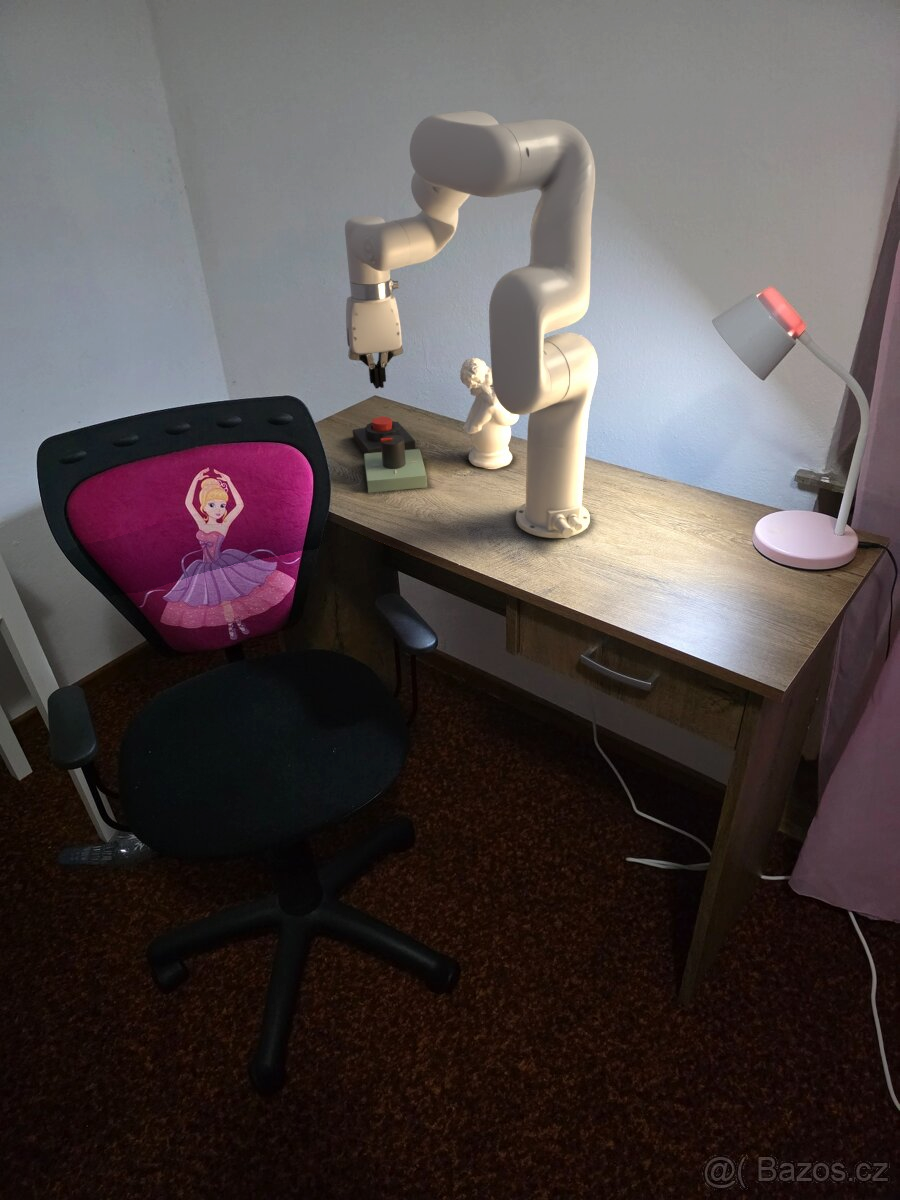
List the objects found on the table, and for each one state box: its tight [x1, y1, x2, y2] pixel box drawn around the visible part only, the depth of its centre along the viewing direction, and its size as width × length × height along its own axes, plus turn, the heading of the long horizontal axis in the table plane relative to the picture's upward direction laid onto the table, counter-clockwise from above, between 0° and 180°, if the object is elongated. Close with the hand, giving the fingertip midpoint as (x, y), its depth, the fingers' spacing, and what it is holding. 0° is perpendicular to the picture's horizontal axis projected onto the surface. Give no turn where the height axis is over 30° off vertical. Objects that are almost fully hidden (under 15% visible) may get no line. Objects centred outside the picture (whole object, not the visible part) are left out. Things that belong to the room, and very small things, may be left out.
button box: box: [352, 420, 416, 455], centre depth 165 cm, size 11×10×4 cm
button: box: [371, 416, 393, 431], centre depth 163 cm, size 4×4×2 cm
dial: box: [381, 435, 406, 469], centre depth 151 cm, size 4×4×5 cm
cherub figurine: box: [459, 356, 520, 470], centre depth 154 cm, size 12×12×22 cm
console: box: [363, 448, 428, 493], centre depth 153 cm, size 12×11×3 cm
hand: (378, 385), depth 159 cm, fingers closed
